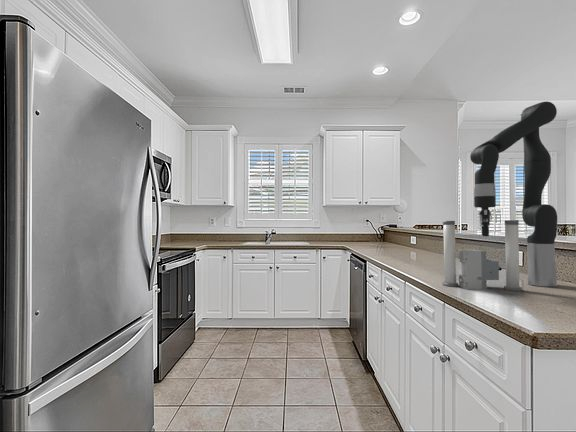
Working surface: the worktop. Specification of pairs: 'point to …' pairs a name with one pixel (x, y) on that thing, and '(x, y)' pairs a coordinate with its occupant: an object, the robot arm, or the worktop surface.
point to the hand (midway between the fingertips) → (485, 235)
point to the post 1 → (449, 254)
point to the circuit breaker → (477, 269)
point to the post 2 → (512, 255)
